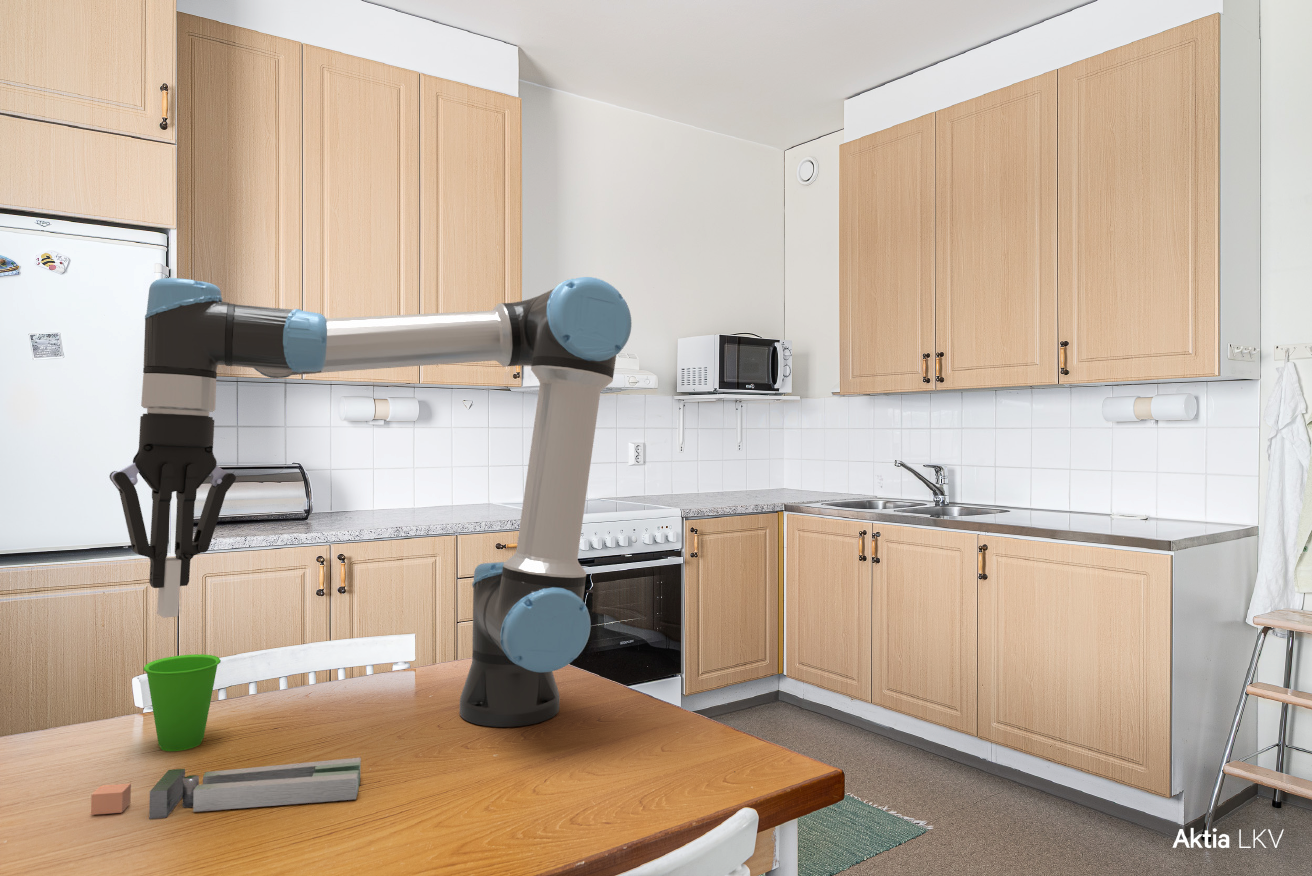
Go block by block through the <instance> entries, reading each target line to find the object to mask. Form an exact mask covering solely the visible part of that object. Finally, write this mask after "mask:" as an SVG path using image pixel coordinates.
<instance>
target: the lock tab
mask: <svg viewBox="0 0 1312 876" xmlns="http://www.w3.org/2000/svg"><path fill="white" fill-rule="evenodd" d="M131 785H132V783H118V784H105V785H100V786H99V787H98V788H97V789H95V790H94V791H93V792H92V794H91V798H90V799H91V800H90V801H91V803H90V805H91V806H90V809H91V811H90V815H91V816H93V815H105V814H119V813H123V812H124V811H125V810H126V809H127V807H128V806H129V805H130V804H131V797H132V795H131V794H132V790H131V789H132V786H131Z"/></svg>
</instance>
